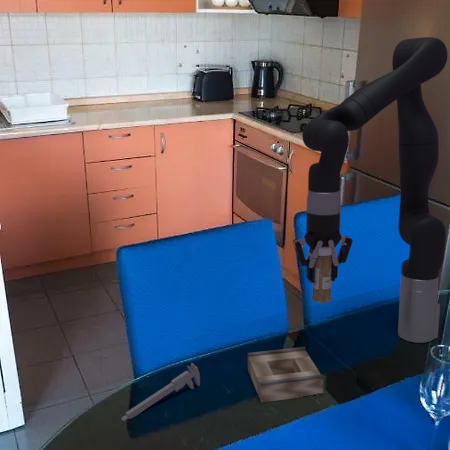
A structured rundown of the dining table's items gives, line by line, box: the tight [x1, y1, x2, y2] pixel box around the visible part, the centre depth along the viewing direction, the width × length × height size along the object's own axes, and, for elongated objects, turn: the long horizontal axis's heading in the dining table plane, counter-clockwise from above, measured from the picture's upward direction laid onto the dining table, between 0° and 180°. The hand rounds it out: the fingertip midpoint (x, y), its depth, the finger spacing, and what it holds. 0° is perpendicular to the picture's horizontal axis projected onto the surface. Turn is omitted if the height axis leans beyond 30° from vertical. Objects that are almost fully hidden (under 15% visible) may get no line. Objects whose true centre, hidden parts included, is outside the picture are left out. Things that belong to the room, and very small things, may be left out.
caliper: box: [120, 362, 201, 422], centre depth 129 cm, size 20×1×6 cm, turn 131°
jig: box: [247, 346, 324, 403], centre depth 135 cm, size 14×14×5 cm
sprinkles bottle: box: [311, 247, 332, 304], centre depth 137 cm, size 5×5×14 cm
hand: (321, 280), depth 137 cm, fingers closed on sprinkles bottle, 4 cm apart
